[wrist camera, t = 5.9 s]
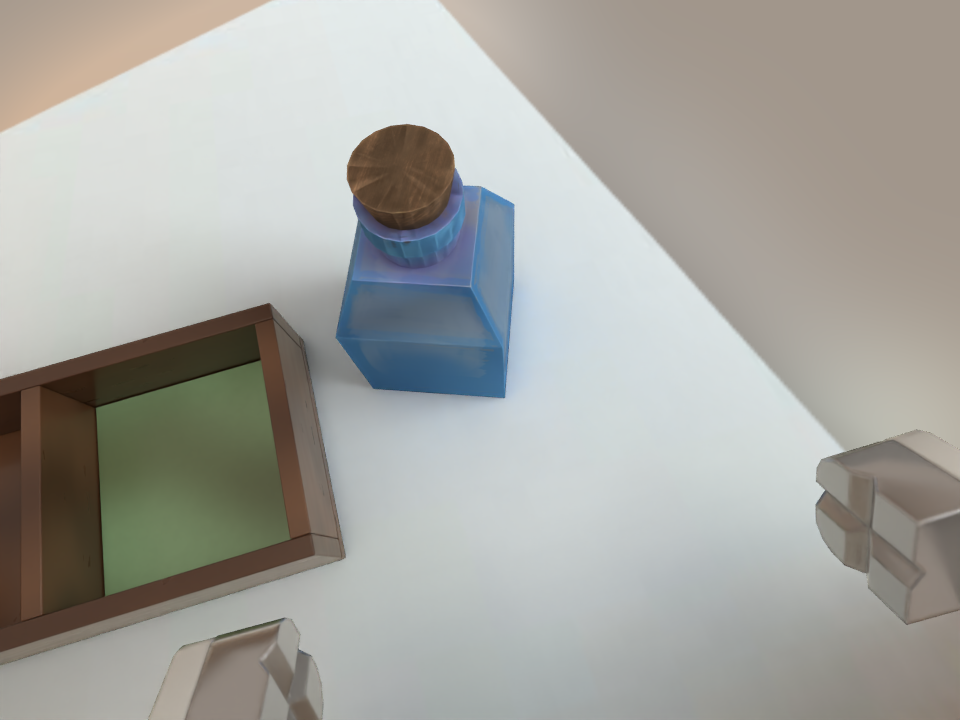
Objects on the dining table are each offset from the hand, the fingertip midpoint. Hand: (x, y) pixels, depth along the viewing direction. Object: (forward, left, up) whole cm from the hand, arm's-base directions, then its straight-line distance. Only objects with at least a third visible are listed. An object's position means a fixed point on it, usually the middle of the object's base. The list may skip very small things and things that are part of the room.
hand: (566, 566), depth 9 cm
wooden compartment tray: (+8, +18, -16) cm, 25 cm away
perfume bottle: (+12, +1, -16) cm, 20 cm away
